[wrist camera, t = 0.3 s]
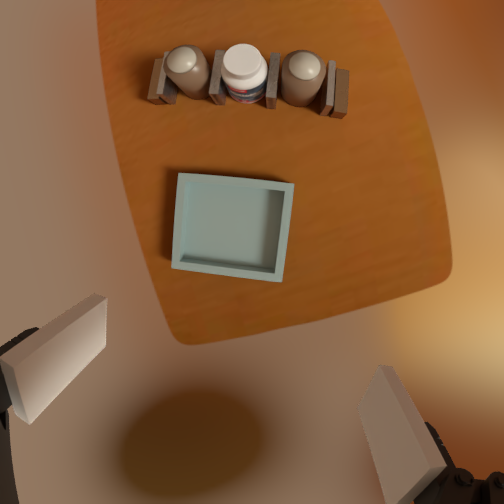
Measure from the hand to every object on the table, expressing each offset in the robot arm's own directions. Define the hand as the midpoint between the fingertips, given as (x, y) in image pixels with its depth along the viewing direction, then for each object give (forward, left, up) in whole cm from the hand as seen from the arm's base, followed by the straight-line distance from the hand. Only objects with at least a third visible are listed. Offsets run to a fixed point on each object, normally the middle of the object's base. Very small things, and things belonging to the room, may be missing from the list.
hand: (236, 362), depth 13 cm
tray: (-3, -4, -27) cm, 27 cm away
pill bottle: (-21, -4, -27) cm, 34 cm away
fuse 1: (-21, -11, -27) cm, 36 cm away
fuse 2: (-21, +2, -27) cm, 34 cm away
